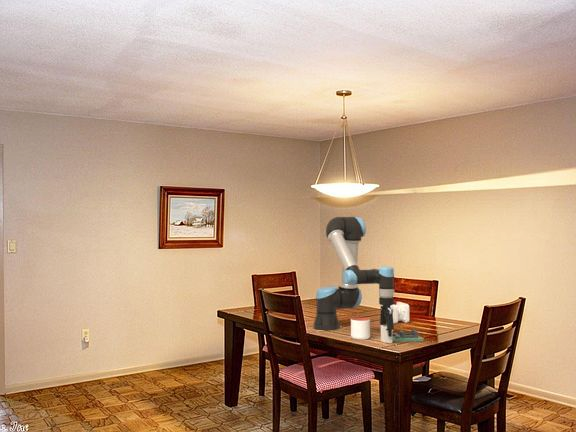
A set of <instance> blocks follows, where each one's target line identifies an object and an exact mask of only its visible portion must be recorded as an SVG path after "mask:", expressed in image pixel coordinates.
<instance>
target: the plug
mask: <svg viewBox="0 0 576 432" xmlns="http://www.w3.org/2000/svg"><path fill="white" fill-rule="evenodd" d="M386 329H387V325H381V324H380V342H382V343H387V330H386ZM393 332H394V329H393V330H392V333H393Z"/></svg>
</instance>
